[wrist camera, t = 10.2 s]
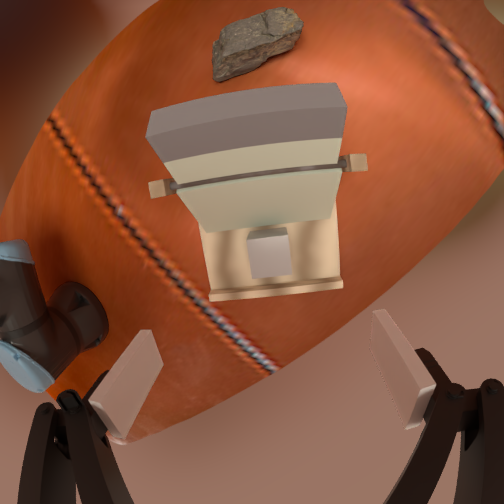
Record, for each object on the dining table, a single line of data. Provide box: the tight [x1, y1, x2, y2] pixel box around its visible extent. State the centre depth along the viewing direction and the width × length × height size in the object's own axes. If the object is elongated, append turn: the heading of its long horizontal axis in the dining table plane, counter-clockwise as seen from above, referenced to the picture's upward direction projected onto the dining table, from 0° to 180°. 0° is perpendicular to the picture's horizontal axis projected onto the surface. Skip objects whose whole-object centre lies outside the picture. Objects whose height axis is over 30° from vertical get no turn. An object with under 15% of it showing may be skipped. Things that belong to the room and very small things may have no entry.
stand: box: [148, 154, 368, 302], centre depth 34 cm, size 23×28×14 cm
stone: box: [246, 227, 292, 279], centre depth 39 cm, size 6×6×6 cm
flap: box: [146, 83, 347, 233], centre depth 31 cm, size 19×22×4 cm
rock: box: [212, 7, 304, 82], centre depth 31 cm, size 17×7×10 cm
